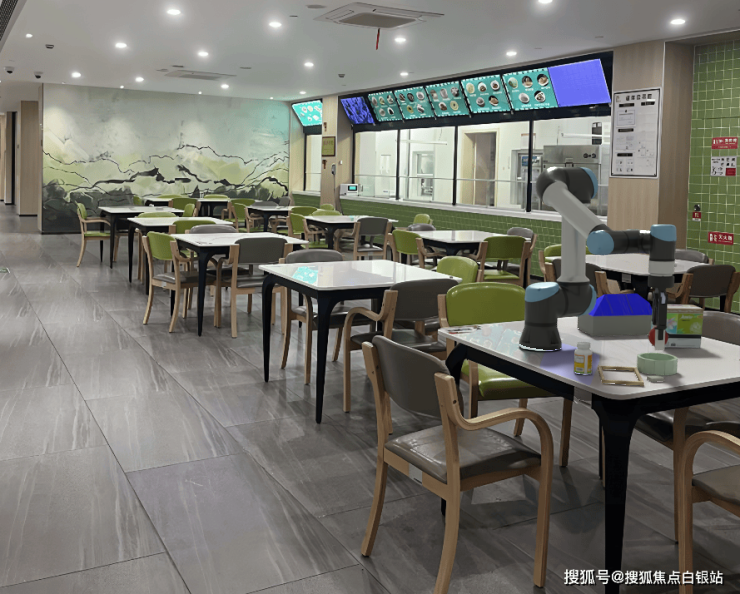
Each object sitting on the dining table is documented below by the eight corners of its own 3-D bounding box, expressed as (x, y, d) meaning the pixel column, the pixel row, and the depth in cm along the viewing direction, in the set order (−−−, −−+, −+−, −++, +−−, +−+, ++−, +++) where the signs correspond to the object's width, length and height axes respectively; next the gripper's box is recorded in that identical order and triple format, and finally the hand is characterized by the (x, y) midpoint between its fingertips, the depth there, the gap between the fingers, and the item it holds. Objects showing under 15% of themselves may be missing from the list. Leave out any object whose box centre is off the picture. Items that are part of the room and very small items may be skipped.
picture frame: (602, 384, 213) (602, 380, 213) (597, 369, 231) (597, 365, 231) (643, 386, 211) (643, 382, 210) (636, 370, 228) (636, 367, 228)
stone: (651, 383, 215) (651, 378, 215) (646, 380, 218) (646, 376, 218) (664, 383, 215) (664, 378, 215) (659, 380, 218) (659, 375, 218)
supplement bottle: (588, 371, 229) (589, 341, 227) (594, 375, 223) (595, 344, 222) (571, 371, 228) (572, 341, 227) (576, 375, 223) (577, 344, 222)
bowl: (639, 374, 224) (639, 359, 224) (634, 365, 236) (635, 351, 235) (679, 376, 222) (680, 361, 221) (673, 367, 233) (673, 353, 232)
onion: (651, 346, 232) (652, 321, 231) (670, 348, 228) (671, 323, 227) (645, 349, 227) (646, 323, 226) (664, 351, 224) (665, 325, 222)
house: (634, 327, 301) (636, 290, 299) (653, 335, 285) (655, 295, 283) (576, 329, 299) (577, 291, 297) (591, 336, 283) (593, 297, 281)
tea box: (659, 348, 261) (661, 308, 258) (649, 342, 270) (651, 303, 268) (701, 348, 260) (704, 307, 258) (690, 342, 270) (692, 303, 268)
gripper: (679, 278, 214) (675, 354, 218) (669, 271, 232) (665, 342, 236) (652, 277, 216) (649, 353, 219) (644, 271, 234) (641, 341, 237)
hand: (657, 347), depth 228 cm, fingers closed on onion, 6 cm apart
